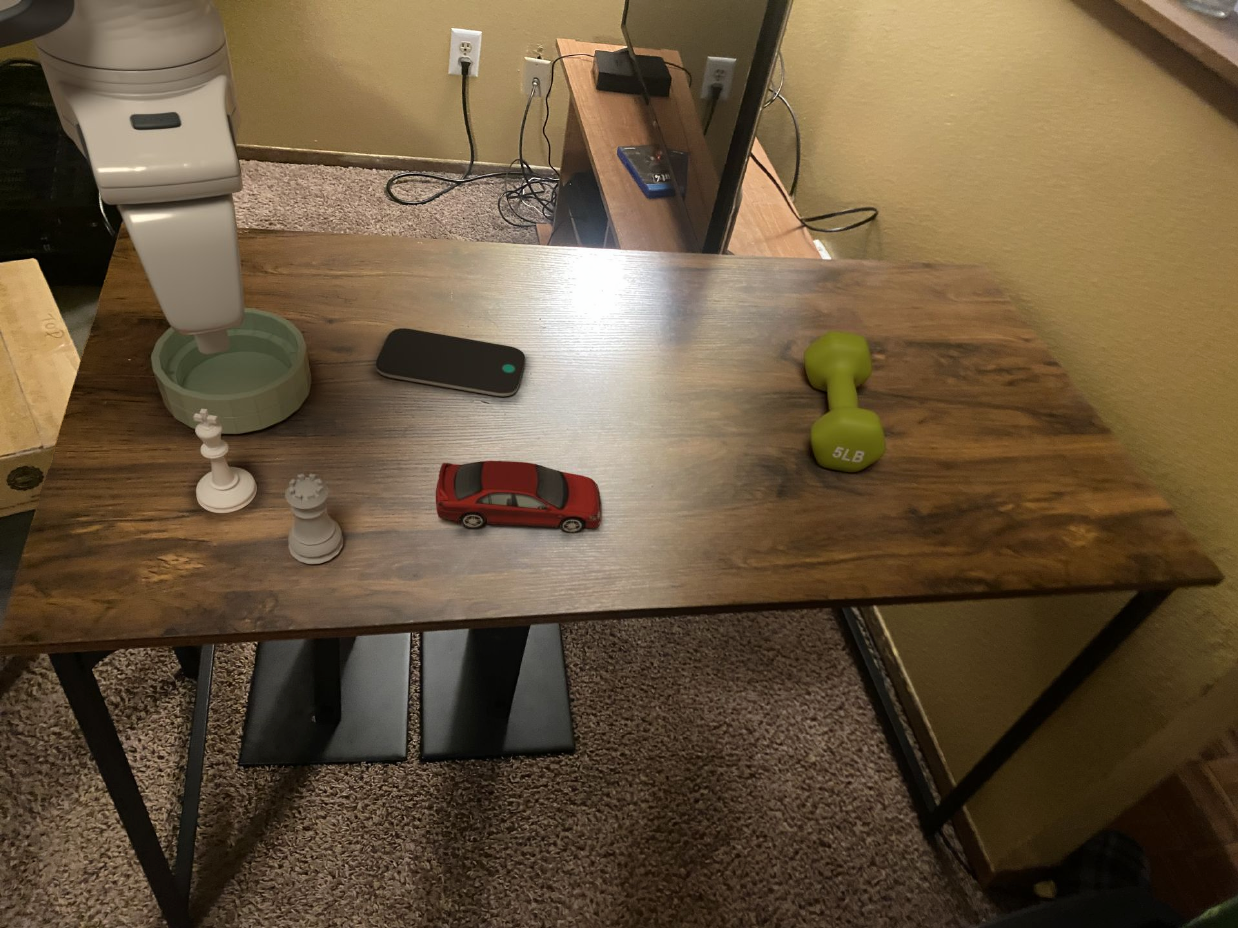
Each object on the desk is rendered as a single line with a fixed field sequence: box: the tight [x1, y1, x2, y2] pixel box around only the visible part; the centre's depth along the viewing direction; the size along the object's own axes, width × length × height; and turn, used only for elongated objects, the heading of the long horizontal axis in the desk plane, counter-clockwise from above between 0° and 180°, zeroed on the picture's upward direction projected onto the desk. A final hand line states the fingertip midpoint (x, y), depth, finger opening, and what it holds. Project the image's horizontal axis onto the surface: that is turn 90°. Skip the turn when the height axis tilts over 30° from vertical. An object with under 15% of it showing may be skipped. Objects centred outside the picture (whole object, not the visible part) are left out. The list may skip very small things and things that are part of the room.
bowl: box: [150, 307, 312, 435], centre depth 81 cm, size 13×13×5 cm
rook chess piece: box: [284, 473, 344, 565], centre depth 69 cm, size 4×4×8 cm
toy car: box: [435, 460, 602, 534], centre depth 76 cm, size 6×15×5 cm, turn 91°
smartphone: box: [375, 327, 526, 398], centre depth 89 cm, size 8×1×15 cm
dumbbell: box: [803, 330, 887, 473], centre depth 90 cm, size 16×8×7 cm, turn 174°
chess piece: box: [193, 409, 258, 514], centre depth 70 cm, size 5×5×10 cm
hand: (201, 301), depth 55 cm, fingers open, 8 cm apart
